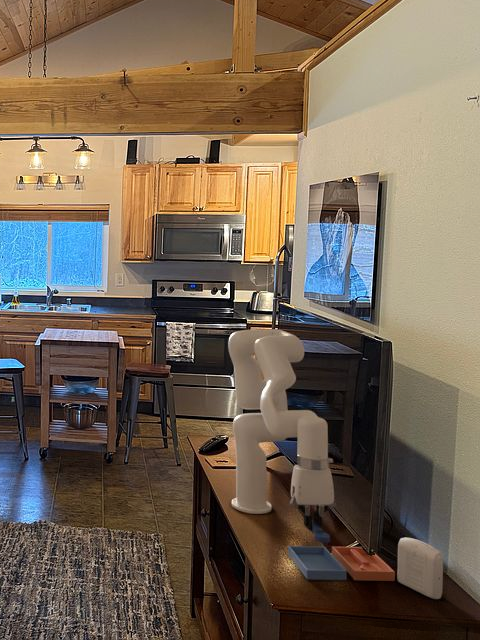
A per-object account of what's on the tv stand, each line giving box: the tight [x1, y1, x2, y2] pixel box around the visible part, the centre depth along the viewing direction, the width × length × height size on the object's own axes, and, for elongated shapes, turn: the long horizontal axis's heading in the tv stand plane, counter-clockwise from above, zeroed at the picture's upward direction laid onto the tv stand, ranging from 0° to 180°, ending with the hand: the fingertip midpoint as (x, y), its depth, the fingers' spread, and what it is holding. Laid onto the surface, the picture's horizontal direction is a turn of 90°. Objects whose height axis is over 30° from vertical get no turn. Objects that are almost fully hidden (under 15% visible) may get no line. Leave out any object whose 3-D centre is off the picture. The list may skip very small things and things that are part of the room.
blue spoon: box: [310, 519, 331, 544], centre depth 176 cm, size 11×4×2 cm, turn 175°
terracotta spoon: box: [350, 549, 377, 571], centre depth 176 cm, size 11×4×2 cm, turn 175°
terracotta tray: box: [331, 546, 396, 582], centre depth 176 cm, size 14×10×2 cm
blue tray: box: [287, 545, 348, 581], centre depth 177 cm, size 14×10×2 cm
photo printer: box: [396, 537, 444, 600], centre depth 164 cm, size 10×4×12 cm, turn 23°
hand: (312, 528), depth 179 cm, fingers closed on blue spoon, 1 cm apart
